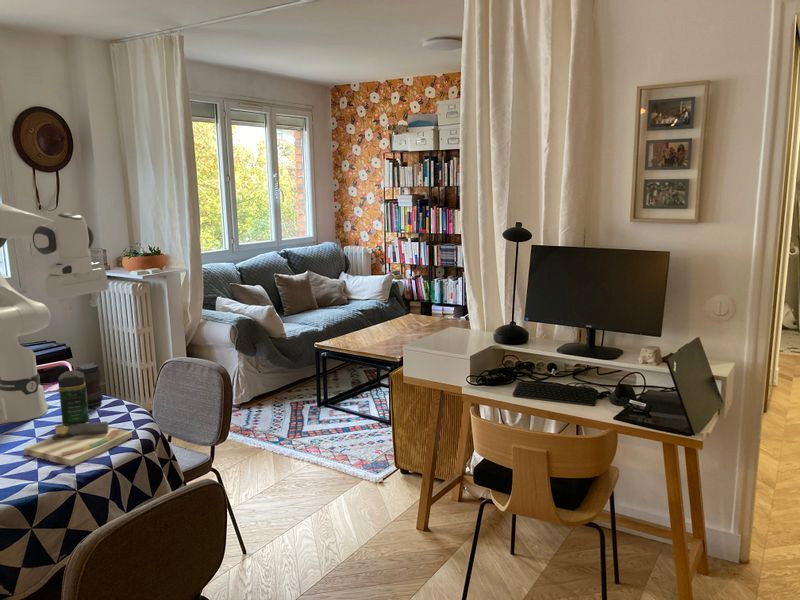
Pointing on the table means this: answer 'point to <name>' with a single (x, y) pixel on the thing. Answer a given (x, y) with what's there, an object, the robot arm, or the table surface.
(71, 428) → the tuning needle
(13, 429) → the table surface
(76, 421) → the coffee jar
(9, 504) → the table surface
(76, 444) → the dial board
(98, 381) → the camera lens
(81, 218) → the robot arm
